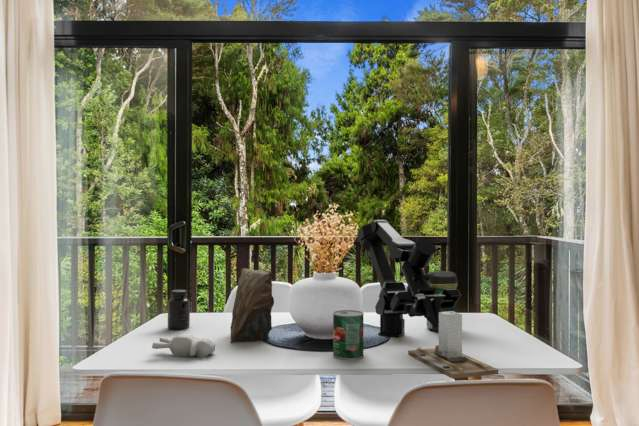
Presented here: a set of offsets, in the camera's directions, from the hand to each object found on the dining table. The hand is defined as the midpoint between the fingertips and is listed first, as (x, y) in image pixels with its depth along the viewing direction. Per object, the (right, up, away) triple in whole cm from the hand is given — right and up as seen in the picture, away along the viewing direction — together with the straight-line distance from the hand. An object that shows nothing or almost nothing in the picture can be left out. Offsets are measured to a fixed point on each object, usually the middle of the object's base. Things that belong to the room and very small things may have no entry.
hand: (437, 327), depth 130 cm
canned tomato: (-23, -8, +1) cm, 24 cm away
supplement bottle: (-75, -8, +33) cm, 82 cm away
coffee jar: (+9, -8, +32) cm, 34 cm away
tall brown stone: (-52, -8, +19) cm, 56 cm away
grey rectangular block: (+1, -6, -6) cm, 9 cm away
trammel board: (+2, -8, -6) cm, 10 cm away
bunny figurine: (-65, -8, +1) cm, 65 cm away
